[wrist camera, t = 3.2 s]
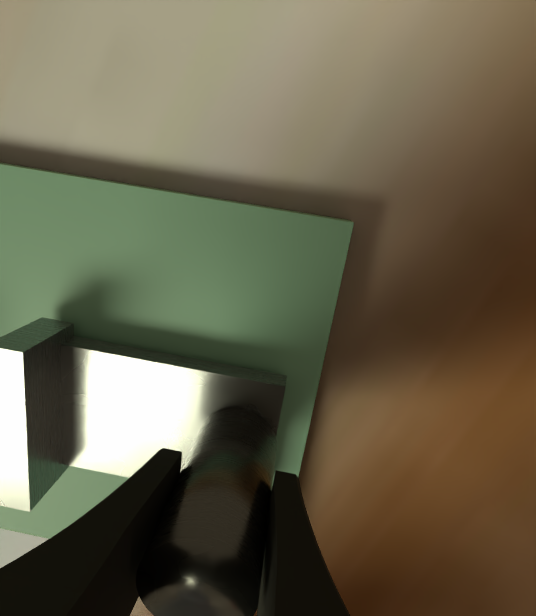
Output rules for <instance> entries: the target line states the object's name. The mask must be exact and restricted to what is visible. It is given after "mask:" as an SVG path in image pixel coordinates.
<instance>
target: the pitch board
mask: <svg viewBox="0 0 536 616" xmlns="http://www.w3.org/2000/svg"><path fill="white" fill-rule="evenodd" d="M353 225H354V222H352V221H351V220H346V219H340V218H333V217H327V216H321V215H315V214H309V213H303V212H297V211H291V210H285V209H279V208H273V207H267V206H261V205H255V204H249V203H243V202H237V201H231V200H225V199H219V198H213V197H206V196H200V195H194V194H188V193H182V192H176V191H170V190H164V189H158V188H152V187H146V186H140V185H134V184H128V183H122V182H116V181H110V180H104V179H98V178H92V177H85V176H79V175H73V174H67V173H61V172H55V171H49V170H43V169H37V168H31V167H25V166H19V165H13V164H7V163H1V162H0V337H2V336H4V335H6V334H8V333H10V332H12V331H14V330H16V329H18V328H21V327H23V326H25V325H27V324H29V323H31V322H33V321H35V320H37V319H39V318H41V317H43V318H49V319H54V320H60V321H65V322H70V323H74V336H77V337H82V338H87V339H93V340H98V341H104V342H109V343H114V344H120V345H125V346H130V347H136V348H141V349H147V350H152V351H157V352H163V353H168V354H174V355H179V356H184V357H190V358H195V359H200V360H206V361H211V362H217V363H222V364H227V365H233V366H238V367H244V368H249V369H254V370H260V371H265V372H271V373H276V374H281V375H287V379H286V387H285V393H284V398H283V403H282V408H281V414H280V419H279V424H278V429H277V435H276V439H277V450H276V459H275V467H274V476H275V470H277V471H282V472H287V473H292V474H296V475H297V476H299V471H300V467H301V462H302V458H303V453H304V448H305V444H306V439H307V435H308V430H309V426H310V421H311V417H312V412H313V407H314V403H315V398H316V394H317V389H318V385H319V380H320V375H321V371H322V366H323V362H324V357H325V353H326V348H327V343H328V339H329V334H330V330H331V325H332V321H333V316H334V312H335V307H336V302H337V298H338V293H339V289H340V284H341V280H342V275H343V270H344V266H345V261H346V257H347V252H348V248H349V243H350V239H351V234H352V229H353ZM274 476H273V481H274ZM127 479H129V478H128V477H124V476H119V475H114V474H109V473H104V472H99V471H94V470H89V469H84V468H79V467H74V466H69V467H68V468H67V470H66V471H65V472H64V473H63V474H62V475H61V477H60V478H59V479H58V480H57V481H56V482H55V484H54V485H53V486H52V487H51V488H50V489H49V491H48V492H47V493H46V494H45V495H44V496H43V498H42V499H41V500H40V501H39V502H38V503H37V504H36V506H35V507H34V508H33V509H32V510H31V511H30V512H28V511H23V510H19V509H14V508H9V507H4V506H0V528H1V529H6V530H11V531H15V532H20V533H25V534H30V535H34V536H39V537H44V538H48V539H50V538H51V537H53V536H54V535H56V534H57V533H59V532H60V531H62V530H63V529H65V528H66V527H68V526H69V525H70V524H72V523H73V522H75V521H76V520H77V519H79V518H80V517H81V516H83V515H84V514H85V513H87V512H88V511H89V510H91V509H92V508H93V507H94V506H96V505H97V504H98V503H100V502H101V501H102V500H104V499H105V498H106V497H107V496H109V495H110V494H111V493H112V492H113V491H114V490H116V489H117V488H118V487H119V486H120V485H122V484H123V483H124V482H125V481H126V480H127ZM272 486H273V484H272Z"/></svg>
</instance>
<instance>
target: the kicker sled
mask: <svg viewBox="0 0 536 616" xmlns="http://www.w3.org/2000/svg"><path fill="white" fill-rule="evenodd" d="M286 379H287V375H281V374H276V373H271V372H265V371H260V370H254V369H249V368H244V367H238V366H233V365H227V364H222V363H217V362H211V361H206V360H200V359H195V358H190V357H184V356H179V355H174V354H168V353H163V352H157V351H152V350H147V349H141V348H136V347H130V346H125V345H120V344H114V343H109V342H104V341H98V340H93V339H87V338H82V337H77V336H74V323H70V322H65V321H60V320H54V319H49V318H43V317H41V318H39V319H37V320H35V321H33V322H31V323H29V324H27V325H25V326H23V327H21V328H18V329H16V330H14V331H12V332H10V333H8V334H6V335H4V336H2V337H0V506H4V507H9V508H14V509H19V510H23V511H28V512H30V511H31V510H32V509H33V508H34V507H35V506H36V504H37V503H38V502H39V501H40V500H41V499H42V498H43V496H44V495H45V494H46V493H47V492H48V491H49V489H50V488H51V487H52V486H53V485H54V484H55V482H56V481H57V480H58V479H59V478H60V477H61V475H62V474H63V473H64V472H65V471H66V470H67V468H68V467H69V466H74V467H79V468H84V469H89V470H94V471H99V472H104V473H109V474H114V475H119V476H124V477H128V478H130V477H131V476H132V475H133V474H134V473H135V472H136V471H137V470H139V469H140V468H141V467H142V466H143V465H144V464H145V463H146V462H147V461H148V460H149V459H150V458H151V457H152V456H154V455H155V454H156V453H157V452H158V451H159V450H160V449H162V448H166V449H171V450H176V451H181V452H182V460H181V470H180V475H179V477H178V479H177V481H176V483H175V486H174V488H173V490H172V492H171V495H170V497H169V499H168V501H167V504H166V506H165V508H164V510H163V512H162V515H161V517H160V519H159V521H158V524H157V526H156V528H155V530H154V533H153V535H152V537H151V539H150V541H149V544H148V546H147V548H146V550H145V553H144V555H143V557H142V559H141V561H140V564H139V566H138V569H137V572H136V588H137V591H138V594H139V597H140V599H141V600H142V602H143V604H144V605H145V606H146V608H147V609H148V610H149V611H150V612H151V613H152V614H153V615H154V616H253V615H254V614H255V612H256V610H257V607H258V603H259V594H260V586H261V577H262V569H263V560H264V552H265V544H266V535H267V526H268V516H269V507H270V499H271V491H272V484H273V476H274V467H275V459H276V450H277V439H276V435H277V429H278V424H279V419H280V414H281V408H282V403H283V398H284V393H285V387H286Z"/></svg>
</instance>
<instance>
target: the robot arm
mask: <svg viewBox="0 0 536 616" xmlns="http://www.w3.org/2000/svg"><path fill="white" fill-rule="evenodd" d="M181 460H182V452H181V451H176V450H171V449H166V448H162V449H160V450H159V451H158V452H157V453H156V454H155V455H154V456H152V457H151V458H150V459H149V460H148V461H147V462H146V463H145V464H144V465H143V466H142V467H141V468H140V469H139V470H137V471H136V472H135V473H134V474H133V475H132V476H131V477H130V478H129V479H127V480H126V481H125V482H124V483H123V484H122V485H120V486H119V487H118V488H117V489H116V490H114V491H113V492H112V493H111V494H110V495H109V496H107V497H106V498H105V499H104V500H102V501H101V502H100V503H98V504H97V505H96V506H94V507H93V508H92V509H91V510H89V511H88V512H87V513H85V514H84V515H83V516H81V517H80V518H79V519H77V520H76V521H75V522H73V523H72V524H70V525H69V526H68V527H66V528H65V529H63V530H62V531H60V532H59V533H57V534H56V535H54V536H53V537H51V538H50V539H48V540H47V541H45V542H44V543H42V544H41V545H39V546H37V547H36V548H34V549H32V550H31V551H29V552H27V553H26V554H24V555H23V556H21V557H19V558H18V559H16V560H14V561H13V562H11V563H9V564H7V565H6V566H4V567H2V568H0V616H130V614H131V612H132V610H133V607H134V605H135V603H136V601H137V599H138V597H139V594H138V591H137V588H136V572H137V569H138V566H139V564H140V561H141V559H142V557H143V555H144V553H145V550H146V548H147V546H148V544H149V541H150V539H151V537H152V535H153V533H154V530H155V528H156V526H157V524H158V521H159V519H160V517H161V515H162V512H163V510H164V508H165V506H166V504H167V501H168V499H169V497H170V495H171V492H172V490H173V488H174V486H175V483H176V481H177V479H178V477H179V475H180V470H181ZM257 616H350V614H349V612H348V610H347V609H346V607H345V605H344V603H343V601H342V599H341V596H340V594H339V592H338V590H337V588H336V586H335V584H334V582H333V580H332V577H331V575H330V573H329V571H328V568H327V566H326V564H325V561H324V559H323V556H322V554H321V551H320V549H319V546H318V544H317V541H316V538H315V535H314V532H313V530H312V527H311V524H310V521H309V518H308V515H307V511H306V508H305V504H304V501H303V497H302V493H301V488H300V483H299V478H298V476H297V475H296V474H292V473H287V472H282V471H277V470H275V476H274V481H273V486H272V491H271V499H270V507H269V516H268V526H267V535H266V544H265V552H264V560H263V569H262V577H261V586H260V594H259V603H258V610H257Z"/></svg>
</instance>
